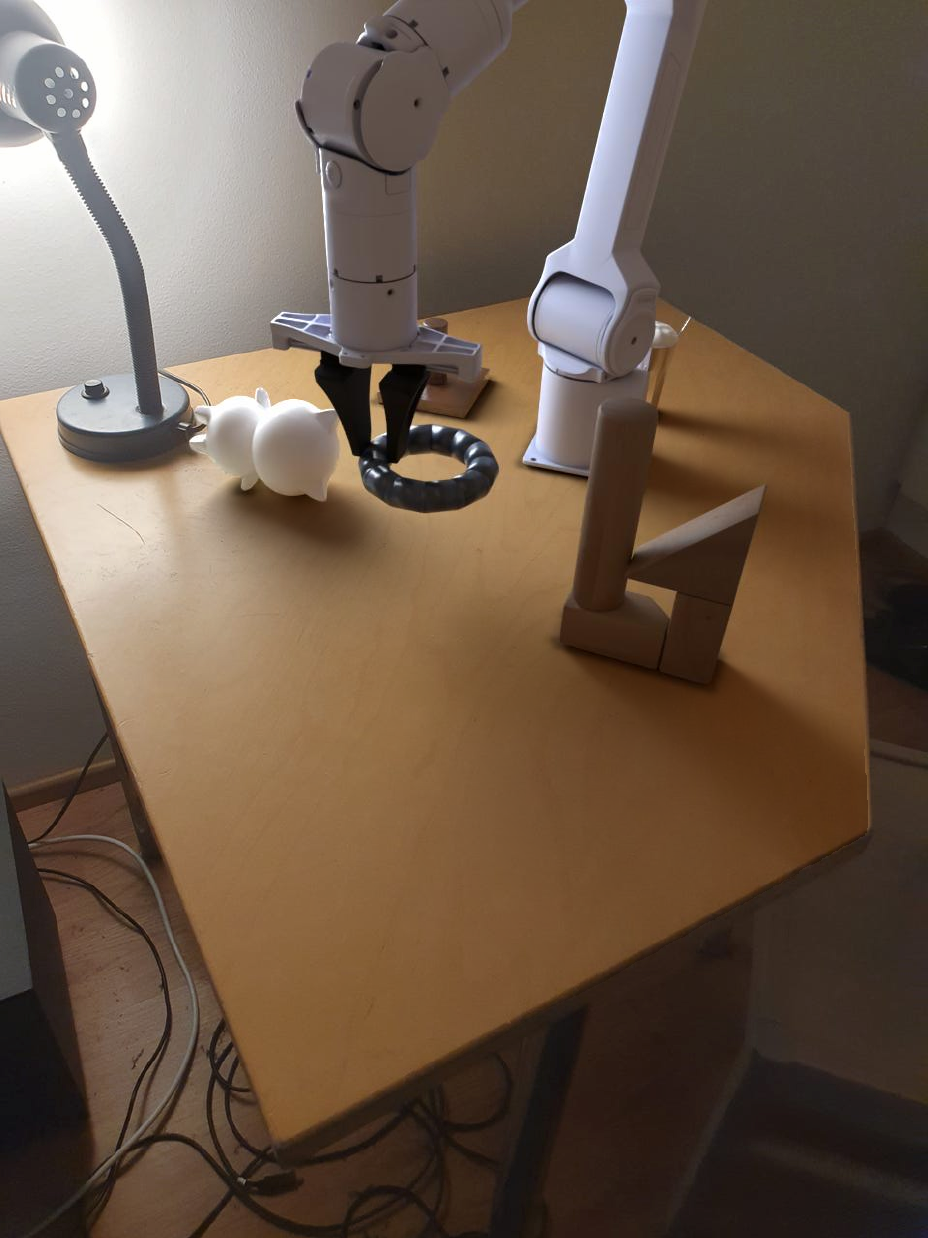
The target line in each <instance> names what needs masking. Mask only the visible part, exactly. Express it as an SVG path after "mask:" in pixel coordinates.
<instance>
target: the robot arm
mask: <svg viewBox="0 0 928 1238" xmlns="http://www.w3.org/2000/svg"><path fill="white" fill-rule="evenodd" d="M529 1H530V0H397V1H396V2H395V3H393V5H392V6H391V7H389V9H387V10H386V11H385V12H384V13H383V14H378V13H374V14H373V15H372V16H371V17H370V18H369V19H367V21H365V23H364V27H363V28H364V31H363V32H362V33H361V34H360V36H359V37H358V39H357V41H356V43H354V42H351V41H343V42H341V41H337V42H333V43H330V44H328V45H327V46H325V47H324V48H322V49H321V50H320V52H319V53H317V54H316V55H315V57H314V59H313V60H312V61H311V63H310V65H309V66H308V68H307V70H306V72H305V74H304V77H303V81H302V85H301V94H300V98H299V99H295V100H294V101H293V108H294V113H295V117H296V120H297V123H298V126H299V128H300V130H301V132H302V133H303V135H304V137H305V138H306V140H307V141H308V142H309V143H310V145H311V147H312V149H313V151H314V155H315V156H314V157H315V164H316V165H315V166H316V173H317V174H318V175H320V178H321V192H322V206H323V221H324V223H323V224H324V235H325V236H324V237H325V251H326V267H327V279H328V295H329V297H328V298H329V309H330V310H329V311H330V314H327V313H325V314H323V313H295V312H287V311H281V313H279V314H278V315H277V316H276V317H275V318H273V319H272V320H271V321H269V327H270V337H271V345H272V349H273V350H277V351H284V352H286V351H289V350H290V348H293V349H299V350H303V351H310V352H316V353H320V359H319V365H317V367H316V368H315V369H314V370H313V373H314V380H315V383H316V384H317V386H319V388H320V389H321V390H322V391H323V393H324V394H325V396H326V397H327V399H328V400H329V402H330V403H331V405H332V407H333V409H335V411H336V412H337V414H338V417H339V419H340V420H339V422H340V423H341V426H342V428H343V432H344V434H345V436H346V439H347V442H348V446H349V448H350V452H351V455H352V456H353V457H357V458H360V456H361V454H362V453H363V452H364V450H365V449H366V448H367V446H368V445H369V444H370V443H371V441H372V433H373V432H372V431H373V430H372V417H371V416H372V415H371V414H372V413H371V381H372V380H371V379H372V367H373V365H391V369H390V370H388V372H387V373H385V374H384V376H383V378H381V379H380V381H379V382H378V390H379V391H380V394H381V397H382V401H383V403H382V404H383V410H384V417H385V426H386V427H385V428H386V432H385V433H386V453H387V459H388V462H389V463H392V464H394V465H397V464H399V462H400V461H401V460H402V459H403V458H402V457H403V455H404V454H405V452H406V448H407V441H408V436H409V432H410V428H411V426H412V424H413V420H414V417H415V414H416V411H417V410H416V409H417V406H418V403H419V401H420V399H421V396H422V394H423V392H424V390H425V388H426V385H427V383H428V381H429V379H430V377H431V376H432V374H433V372H438V373H444V374H450V375H456V376H459V380H460V381H463V382H469V383H473V382H474V381H475V379H476V378H477V377H478V375H479V373H480V372H481V368H483V347H484V346H483V344H482V343H479V342H474V341H473V342H472V341H469V340H464V339H461V338H458V337H455V336H452V335H449V334H448V335H447V334H444V333H441V332H438V331H435V330H433V329H430V328H427V327H424V326H423V325H422V324H419V323H418V162H420V161H423V160H425V159H426V158H427V157H428V155H429V153H430V152H431V150H432V148H433V146H434V144H435V141H436V139H437V136H438V133H439V128H440V124H441V121H442V119H443V118H444V116H445V114H447V112H449V110H450V108H449V105H450V104H451V103H452V101H453V100H454V99H455V98H456V97H457V96H458V95H459V94H460V93H462V91H463V90H465V88H466V87H468V85H470V84H471V82H472V81H474V80H475V79H476V78H477V77H478V76H479V75H480V74H481V73H482V72H483V71H484V70H485V69H486V68H487V67H488V66H489V65H491V63H493V62H494V61H495V59H497V58H498V57H499V56H500V55H501V54H502V53H503V52H504V51H505V50H506V49H507V47H508V45H509V43H510V41H511V37H512V30H513V29H512V28H513V14H515V12H517V11H518V10H519V9H521V8H522V7H523V6H524V5H525V4H527V3H528V2H529ZM624 2H625V5H626V15H625V19H624V24H623V29H622V33H621V37H620V42H619V46H618V49H617V53H616V59H615V62H614V67H613V71H612V75H611V80H610V85H609V89H608V93H607V98H606V102H605V105H604V109H603V110H604V111H603V115H602V117H601V118H602V119H601V124H600V126H599V127H600V128H599V131H598V136H597V141H596V145H595V149H594V153H593V158H592V161H591V166H590V170H589V174H588V179H587V184H586V188H585V191H584V197H583V201H582V205H581V210H580V213H579V218H578V222H577V227H576V231H575V235H574V237H573V239H571V241H569V242H568V243H565V244H564V245H562V246H561V247H558V249H555V250H554V251H552V252H551V253H549V254H548V255H547V257H546V259H545V264H544V267H543V272H542V274H541V278H540V279H539V282H538V284H537V286H536V288H535V289H534V291H533V292H532V295H531V297H530V300H529V303H528V307H527V313H526V316H527V317H526V323H527V329H528V332H529V334H530V336H531V337H532V338H533V339H534V340H535V341H537V342H538V344H537V345H538V346H537V355H539V356H541V357H542V358H543V362H542V363H543V364H542V373H541V384H540V393H539V402H538V403H539V404H538V412H537V413H538V415H537V423H536V424H537V425H536V432H535V434H534V436H533V438H532V439H531V441H530V443H529V445H528V447H527V450H526V451H525V453H524V455H523V457H522V464H524V465H526V466H532V467H536V468H542V469H547V470H553V471H556V472H562V473H568V474H573V475H578V476H584V477H587V478H588V477H589V470H590V463H591V456H592V449H593V443H594V436H595V429H596V422H597V415H598V409H599V407H600V405H601V404H602V403H603V402H604V401H605V400H608V399H610V398H614V397H633V398H638V399H642V400H645V401H646V398H647V393H648V387H649V380H650V372H648V371H646V370H642V369H639V368H636V367H637V366H638V365H639V364H640V363H641V362H642V361H643V360H644V358H645V357H646V355H647V354H648V352H649V350H650V348H651V345H652V343H653V340H654V336H655V330H656V321H657V319H656V314H657V313H656V312H657V306H658V305H657V304H658V299H659V296H660V292H661V289H662V288H661V284H660V282H659V280H658V278H657V277H656V275H655V274H654V272H653V271H652V269H651V267H650V266H649V264H648V263H647V261H646V259H645V258H644V256H643V254H642V252H641V249H642V245H643V240H644V236H645V234H646V229H647V226H648V222H649V218H650V214H651V210H652V207H653V203H654V199H655V196H656V192H657V189H658V184H659V180H660V178H661V174H662V169H663V166H664V164H665V163H664V162H665V159H666V156H667V151H668V148H669V144H670V140H671V137H672V134H673V133H672V132H673V129H674V126H675V122H676V119H677V118H676V117H677V116H678V115H677V114H678V111H679V107H680V105H681V100H682V97H683V92H684V89H685V86H686V81H687V77H688V74H689V70H690V66H691V63H692V59H693V56H694V52H695V48H696V44H697V41H698V37H699V33H700V28H701V26H702V22H703V18H704V15H705V12H706V7H707V3H708V0H624ZM401 458H402V459H401Z"/></svg>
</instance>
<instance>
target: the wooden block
mask: <svg viewBox="0 0 928 1238" xmlns="http://www.w3.org/2000/svg"><path fill="white" fill-rule="evenodd" d="M659 417H660V415H659V412H658V409H657V410H656V408H655V407H654V406H653V405H652V404H651V403H649V402H647V401H645V400H642V399H638V398H633V397H614V398H610V399H608V400H605V401H604V402H603V403H602V404H601V405H600V407H599V409H598V415H597V422H596V429H595V436H594V443H593V449H592V456H591V463H590V470H589V477H588V476H587V478H588V479H587V485H586V492H585V498H584V505H583V511H582V512H583V513H582V518H581V519H582V520H581V527H580V534H579V541H578V548H577V555H576V561H575V568H574V569H575V570H574V575H573V582H572V587H571V589H570V591H569V593H568V594H567V595H568V596H567V597H566V599H565V601H564V604H563V605H562V612H561V618H560V619H561V620H560V627H559V635H558V641H559V643H560V644H562V645H566V646H568V647H573V648H577V649H580V650H582V651H587V652H590V653H592V654H593V653H594V654H597V655H601V656H605V657H607V658H610V659H611V658H612V659H614V660H619V661H621V662H625V663H629V664H632V665H636V666H640V667H642V668H643V667H644V668H646V669H650V670H657V669H659V672H661V673H662V674H666V675H669V676H672V677H677V678H681V679H684V680H686V681H687V680H688V681H690V682H694V683H698V684H701V685H709V683H710V682H711V681H712V678H713V676H714V675H713V674H714V672H715V669H716V665H717V661H718V658H719V655H720V652H721V647H722V645H723V641H724V637H725V634H726V631H727V627H728V625H729V620H730V617H731V614H732V610H733V607H734V604H735V600H736V595H737V593H738V588H739V584H740V582H741V577H742V574H743V571H744V568H745V565H746V561H747V558H748V554H749V552H750V547H751V545H752V541H753V538H754V534H755V530H756V527H757V525H758V522H759V521H758V520H759V518H760V514H761V509H762V506H763V503H764V498H765V494H766V491H767V487H768V486H767V484H765V483H764V484H761V485H759V486H757V487H755V488H754V489H751V490H749V491H747V492H745V493H744V494H741V495H739V496H737V497H736V498H733V499H731V500H729V501H727V502H725V503H723V504H721V505H719V506H717V507H715V508H713V509H711V510H709V511H706V512H704V513H703V514H701V515H699V516H697V517H695V518H693V519H691V520H689V521H686V522H685V523H683V524H681V525H679V526H677V527H675V528H673V529H671V530H668V531H667V532H665V533H663V534H661V535H658V536H657V537H655V538H653V539H651V540H649V541H646V542H645V543H643V544H641V545H638V546H637V547H634V546H635V543H636V538H637V532H638V527H639V522H640V516H641V511H642V507H643V501H644V495H645V491H646V486H647V482H648V481H647V480H648V475H649V470H650V465H651V460H652V455H653V449H654V444H655V439H656V434H657V428H658V423H659ZM634 548H635V550H634ZM628 580H631V581H635V582H639V583H643V584H646V585H651V586H654V587H658V588H662V589H665V590H669V591H674V592H675V597H674V599H673V600H674V601H673V605H672V609H671V612H670V617H669V615H668V614H667V613H666V612H665V611H664V610H663V608H661V606H659V604H657V602H656V601H655V600H654V599H653V598H652V597H651V596H649V595H645V594H641V593H638V592H635V591H630V590H626V589H627V584H628Z"/></svg>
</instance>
